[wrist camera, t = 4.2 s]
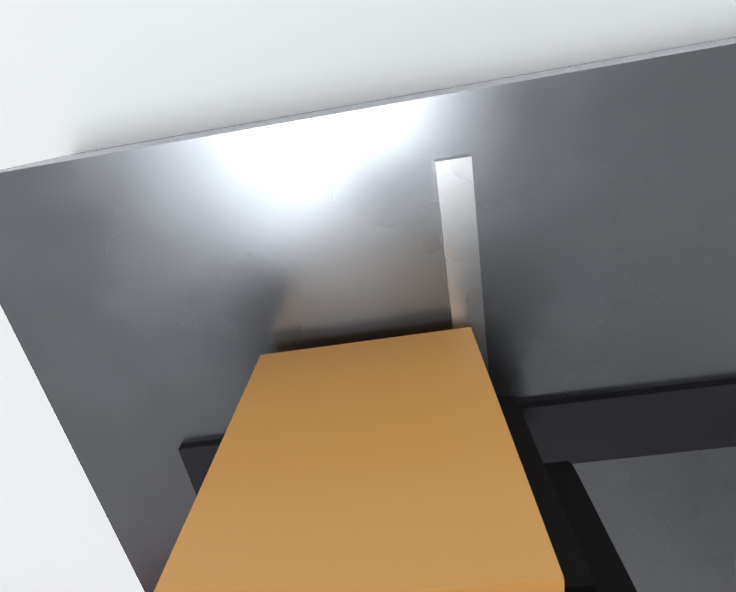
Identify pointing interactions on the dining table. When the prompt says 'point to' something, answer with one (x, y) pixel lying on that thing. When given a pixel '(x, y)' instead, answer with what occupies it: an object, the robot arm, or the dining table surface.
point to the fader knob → (367, 479)
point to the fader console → (411, 285)
